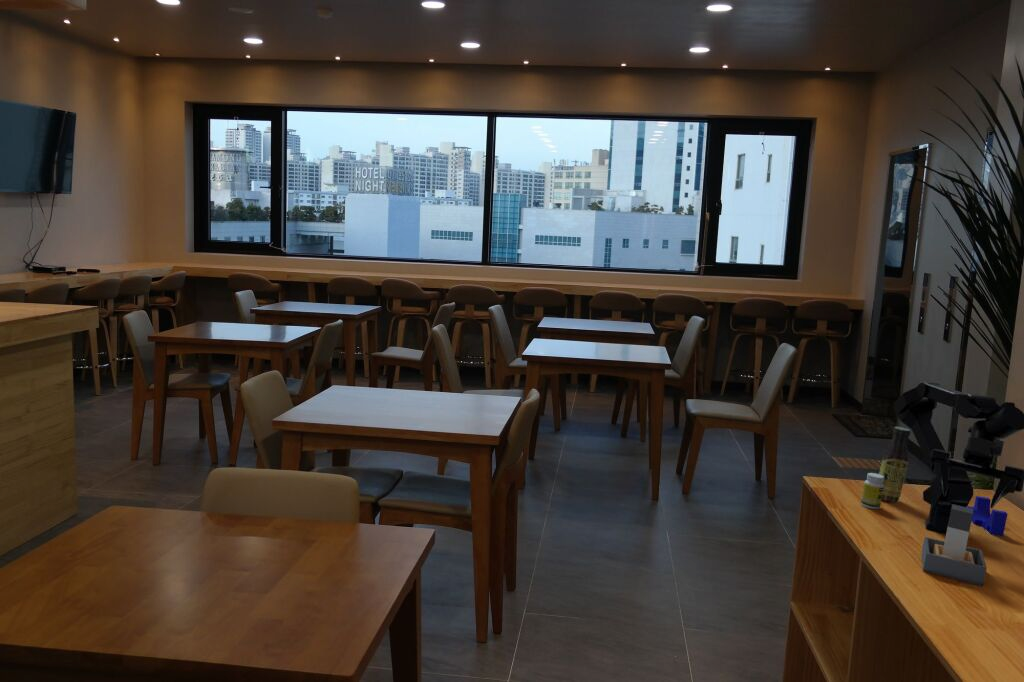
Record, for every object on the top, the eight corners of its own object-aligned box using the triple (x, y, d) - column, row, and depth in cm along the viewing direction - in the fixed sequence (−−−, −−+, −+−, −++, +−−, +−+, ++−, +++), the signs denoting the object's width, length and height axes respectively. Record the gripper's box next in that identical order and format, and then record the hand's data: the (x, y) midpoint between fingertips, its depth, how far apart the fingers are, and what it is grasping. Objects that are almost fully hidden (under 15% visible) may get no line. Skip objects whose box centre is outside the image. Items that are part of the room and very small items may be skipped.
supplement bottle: (878, 510, 210) (884, 479, 208) (859, 505, 212) (864, 474, 211) (881, 506, 214) (887, 475, 212) (862, 501, 216) (867, 470, 215)
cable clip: (965, 516, 213) (969, 495, 212) (983, 519, 212) (988, 497, 211) (983, 533, 201) (987, 510, 200) (1002, 536, 201) (1007, 513, 200)
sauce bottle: (877, 501, 218) (891, 429, 215) (871, 493, 224) (884, 423, 221) (903, 505, 217) (917, 432, 214) (896, 497, 223) (909, 427, 220)
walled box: (921, 553, 183) (924, 536, 182) (978, 567, 178) (981, 550, 178) (922, 571, 173) (926, 553, 172) (982, 586, 168) (986, 567, 168)
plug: (940, 560, 178) (952, 504, 176) (961, 566, 176) (973, 509, 174) (939, 566, 175) (951, 508, 173) (960, 572, 173) (972, 514, 171)
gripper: (938, 414, 186) (921, 470, 179) (1034, 434, 176) (1020, 494, 169) (937, 441, 194) (921, 496, 187) (1028, 462, 184) (1015, 520, 176)
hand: (967, 501), depth 180 cm, fingers open, 9 cm apart
